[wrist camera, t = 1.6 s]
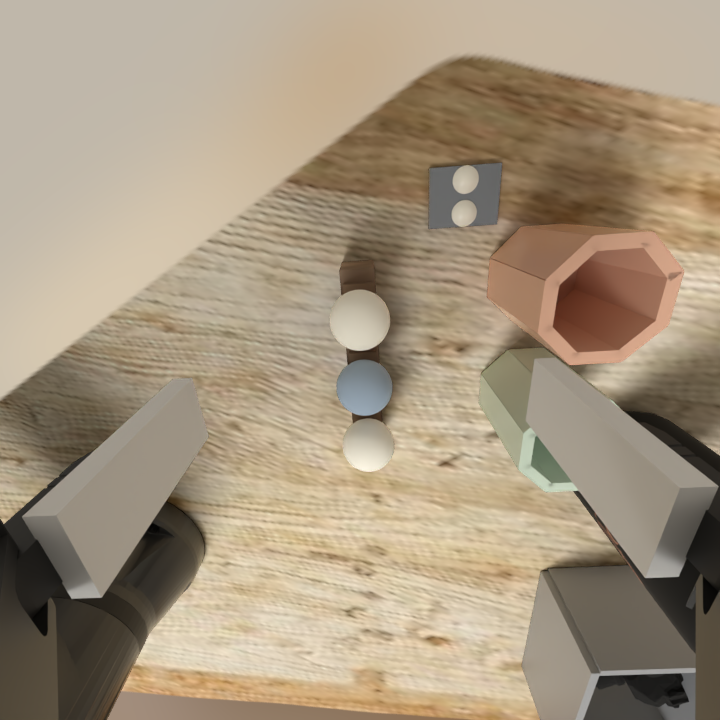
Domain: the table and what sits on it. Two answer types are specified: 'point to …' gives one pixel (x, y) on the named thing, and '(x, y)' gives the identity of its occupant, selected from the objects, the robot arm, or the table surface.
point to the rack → (360, 278)
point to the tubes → (556, 301)
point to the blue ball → (364, 387)
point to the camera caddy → (601, 646)
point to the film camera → (650, 687)
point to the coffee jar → (678, 589)
